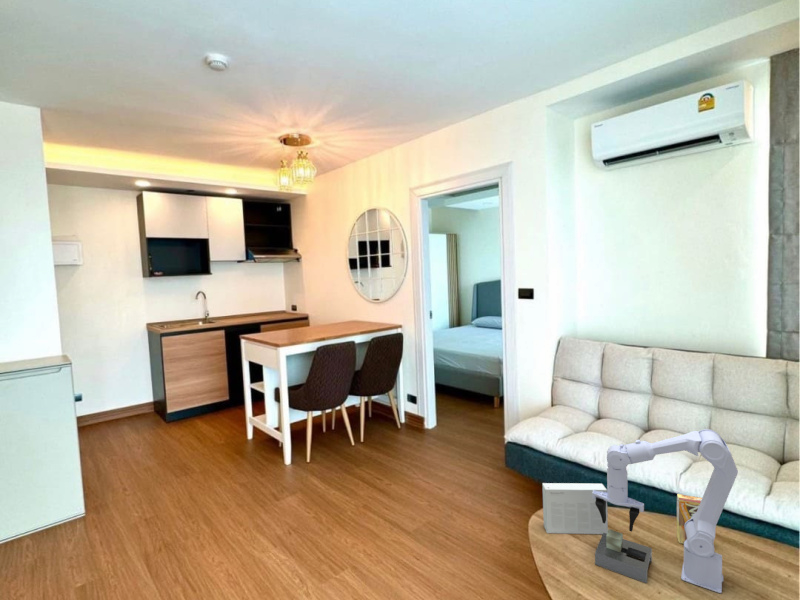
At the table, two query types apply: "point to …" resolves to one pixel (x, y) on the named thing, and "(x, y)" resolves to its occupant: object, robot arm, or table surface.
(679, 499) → the candy box
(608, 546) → the peg
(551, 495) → the skincare box
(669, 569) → the table surface
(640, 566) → the keyhole bracket
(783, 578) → the table surface
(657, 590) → the table surface
